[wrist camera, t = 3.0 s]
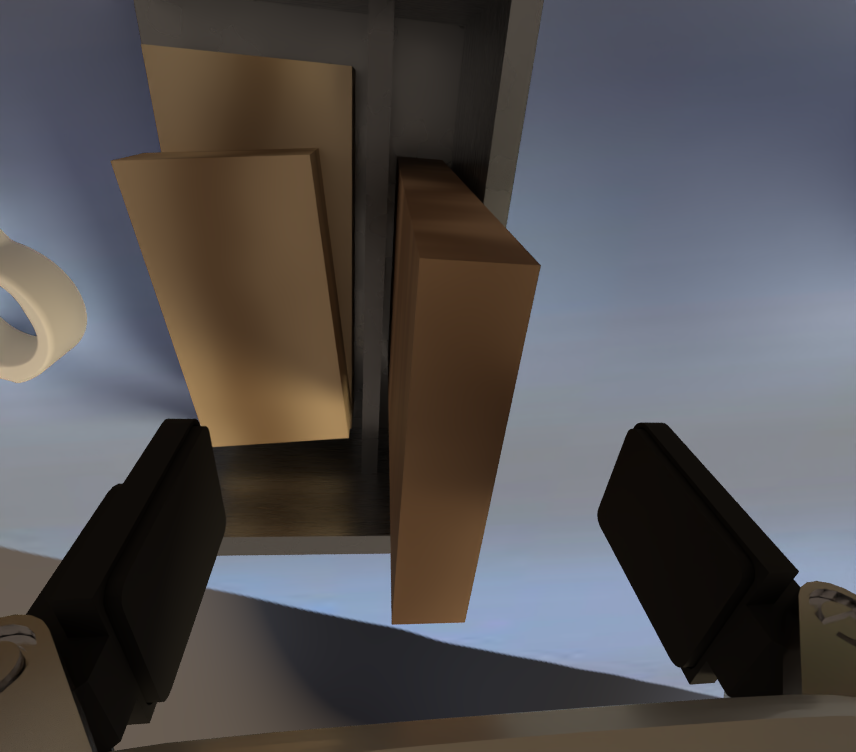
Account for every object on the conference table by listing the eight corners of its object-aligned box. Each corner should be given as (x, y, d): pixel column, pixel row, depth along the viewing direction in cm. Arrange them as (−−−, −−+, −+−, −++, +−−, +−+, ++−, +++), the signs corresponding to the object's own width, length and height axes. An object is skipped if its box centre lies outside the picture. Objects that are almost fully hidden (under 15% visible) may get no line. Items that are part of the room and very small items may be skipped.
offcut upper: (318, 147, 18) (309, 154, 15) (351, 407, 24) (348, 438, 22) (144, 152, 17) (110, 160, 15) (224, 415, 23) (208, 447, 21)
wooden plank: (442, 159, 20) (540, 265, 8) (424, 358, 26) (464, 622, 13) (396, 156, 20) (419, 258, 7) (387, 357, 25) (391, 624, 12)
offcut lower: (355, 69, 18) (352, 66, 16) (354, 402, 27) (351, 428, 24) (170, 50, 18) (140, 44, 16) (227, 398, 26) (212, 426, 24)
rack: (483, -5, 19) (557, -80, 11) (433, 432, 30) (451, 552, 22) (138, -49, 17) (-71, -173, 9) (222, 428, 28) (160, 556, 20)
